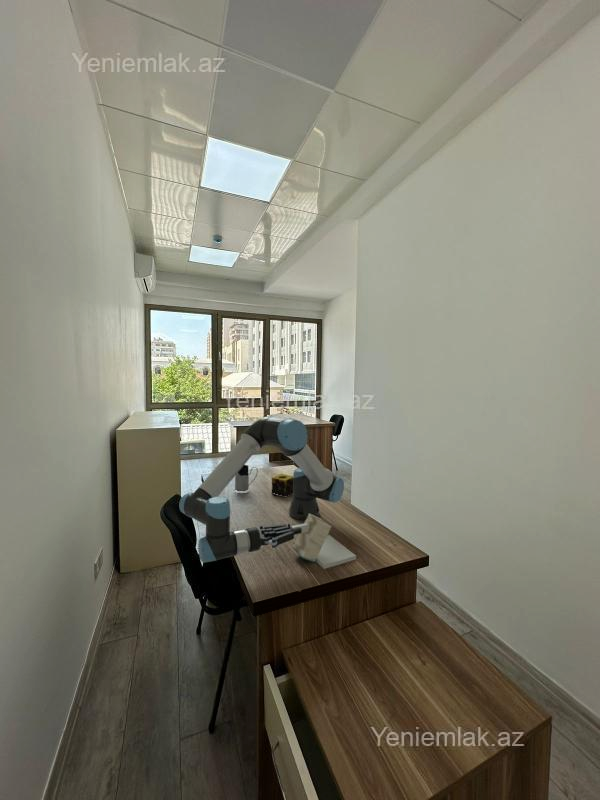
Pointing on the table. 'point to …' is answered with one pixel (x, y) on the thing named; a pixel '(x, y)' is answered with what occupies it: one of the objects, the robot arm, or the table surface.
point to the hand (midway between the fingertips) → (307, 527)
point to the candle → (282, 484)
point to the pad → (333, 554)
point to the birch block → (312, 538)
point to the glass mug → (243, 479)
